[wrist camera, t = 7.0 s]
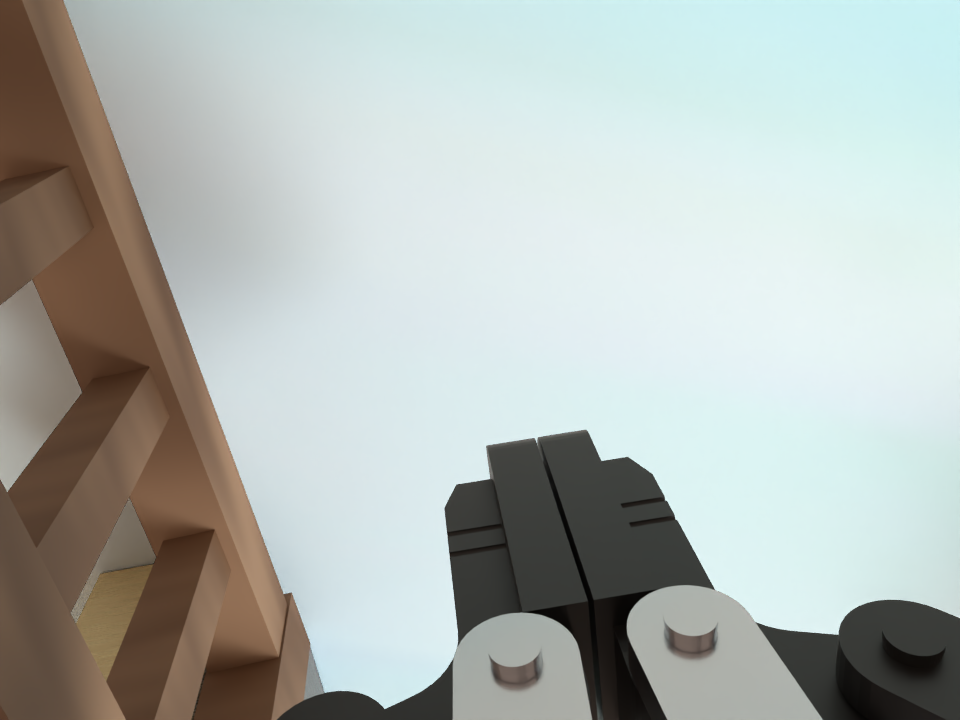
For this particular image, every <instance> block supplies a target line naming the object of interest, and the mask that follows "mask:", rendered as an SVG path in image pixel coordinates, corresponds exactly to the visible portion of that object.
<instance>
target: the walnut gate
mask: <svg viewBox="0 0 960 720" xmlns="http://www.w3.org/2000/svg"><path fill="white" fill-rule="evenodd" d="M30 280H33V282H34V284H35V287H36V289H37V291H38V293H39V296H40V298H41V300H42V302H43V305H44V307H45V309H46V311H47V314H48V316H49V318H50V320H51V323H52V325H53V327H54V329H55V332H56V334H57V336H58V338H59V340H60V343H61V345H62V347H63V349H64V352H65V354H66V356H67V358H68V361H69V363H70V365H71V367H72V370H73V372H74V374H75V376H76V379H77V381H78V383H79V385H80V387H81V390H82V394H81V395H80V396H79V398H78V399H77V400H76V402H75V403H74V404H73V406H72V407H71V408H70V410H69V411H68V412H67V414H66V415H65V416H64V418H63V419H62V420H61V422H60V423H59V424H58V426H57V427H56V428H55V430H54V431H53V432H52V434H51V435H50V436H49V438H48V439H47V440H46V442H45V443H44V444H43V446H42V447H41V448H40V449H39V451H38V452H37V453H36V455H35V456H34V457H33V459H32V460H31V461H30V463H29V464H28V465H27V467H26V468H25V469H24V471H23V472H22V473H21V475H20V476H19V477H18V479H17V480H16V481H15V483H14V484H13V485H12V487H11V488H10V489H9V491H8V492H7V491H6V489H5V487H4V485H3V484H2V482H1V480H0V720H191V719H192V715H193V712H194V708H195V704H196V700H197V697H198V693H199V689H200V685H201V682H202V678H203V674H204V670H205V667H206V674H205V678H204V682H203V686H202V689H201V693H200V697H199V701H198V704H197V708H196V712H195V716H194V720H277V719H278V718H279V717H280V716H281V715H282V714H283V713H284V712H286V711H287V710H289V709H290V708H291V707H293V706H294V705H296V704H298V703H300V702H302V701H303V700H304V694H305V685H306V677H307V668H308V660H309V651H310V642H309V639H308V636H307V633H306V631H305V628H304V625H303V623H302V620H301V617H300V614H299V612H298V609H297V606H296V603H295V601H294V598H293V595H292V593H287V594H283V591H282V589H281V586H280V583H279V581H278V578H277V575H276V573H275V570H274V567H273V565H272V562H271V559H270V556H269V554H268V551H267V548H266V546H265V543H264V540H263V538H262V535H261V532H260V529H259V527H258V524H257V521H256V519H255V516H254V513H253V511H252V508H251V505H250V503H249V500H248V497H247V494H246V492H245V489H244V486H243V484H242V481H241V478H240V476H239V473H238V470H237V468H236V465H235V462H234V459H233V457H232V454H231V451H230V449H229V446H228V443H227V441H226V438H225V435H224V432H223V430H222V427H221V424H220V422H219V419H218V416H217V414H216V411H215V408H214V406H213V403H212V400H211V397H210V395H209V392H208V389H207V387H206V384H205V381H204V379H203V376H202V373H201V371H200V368H199V365H198V362H197V360H196V357H195V354H194V352H193V349H192V346H191V344H190V341H189V338H188V335H187V333H186V330H185V327H184V325H183V322H182V319H181V317H180V314H179V311H178V309H177V306H176V303H175V300H174V298H173V295H172V292H171V290H170V287H169V284H168V282H167V279H166V276H165V274H164V271H163V268H162V265H161V263H160V260H159V257H158V255H157V252H156V249H155V247H154V244H153V241H152V238H151V236H150V233H149V230H148V228H147V225H146V222H145V220H144V217H143V214H142V212H141V209H140V206H139V203H138V201H137V198H136V195H135V193H134V190H133V187H132V185H131V182H130V179H129V176H128V174H127V171H126V168H125V166H124V163H123V160H122V158H121V155H120V152H119V150H118V147H117V144H116V141H115V139H114V136H113V133H112V131H111V128H110V125H109V123H108V120H107V117H106V115H105V112H104V109H103V106H102V104H101V101H100V98H99V96H98V93H97V90H96V88H95V85H94V82H93V79H92V77H91V74H90V71H89V69H88V66H87V63H86V61H85V58H84V55H83V53H82V50H81V47H80V44H79V42H78V39H77V36H76V34H75V31H74V28H73V26H72V23H71V20H70V18H69V15H68V12H67V9H66V7H65V4H64V1H63V0H0V305H1V304H2V303H4V302H5V301H6V300H7V299H8V298H10V297H11V296H12V295H13V294H14V293H16V292H17V291H18V290H19V289H21V288H22V287H23V286H24V285H25V284H27V283H28V282H29V281H30ZM129 497H130V499H131V502H132V504H133V506H134V508H135V511H136V513H137V515H138V517H139V520H140V522H141V524H142V526H143V529H144V531H145V533H146V535H147V538H148V540H149V542H150V544H151V547H152V549H153V551H154V553H155V555H156V559H155V562H154V564H153V567H152V569H151V572H150V574H149V577H148V579H147V582H146V584H145V587H144V589H143V592H142V594H141V597H140V599H139V601H138V604H137V606H136V609H135V611H134V614H133V616H132V619H131V621H130V624H129V626H128V629H127V631H126V634H125V636H124V639H123V641H122V643H121V646H120V648H119V651H118V653H117V656H116V658H115V661H114V663H113V666H112V668H111V671H110V673H109V676H108V678H107V681H106V680H105V679H104V677H103V675H102V673H101V671H100V669H99V667H98V665H97V663H96V661H95V659H94V658H93V656H92V654H91V652H90V650H89V648H88V646H87V644H86V642H85V640H84V638H83V637H82V635H81V633H80V631H79V629H78V627H77V625H76V623H75V621H74V619H73V617H72V615H71V614H70V613H71V611H72V609H73V607H74V605H75V603H76V601H77V599H78V597H79V595H80V593H81V591H82V589H83V587H84V585H85V583H86V581H87V579H88V577H89V575H90V573H91V572H92V570H93V568H94V566H95V564H96V562H97V560H98V558H99V556H100V554H101V552H102V550H103V548H104V546H105V544H106V542H107V540H108V538H109V536H110V534H111V532H112V530H113V528H114V526H115V524H116V522H117V520H118V518H119V516H120V514H121V512H122V510H123V508H124V506H125V504H126V502H127V500H128V498H129Z"/></svg>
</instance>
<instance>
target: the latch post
mask: <svg viewBox="0 0 960 720" xmlns="http://www.w3.org/2000/svg"><path fill="white" fill-rule="evenodd" d="M152 567H153V564H151V565H146V566H140V567H135V568H129V569H124V570H118V571H113V572H107V573H102V574H100V576H99V578H98V580H97V582H96V584H95V586H94V588H93V590H92V592H91V594H90V596H89V598H88V600H87V602H86V604H85V606H84V608H83V610H82V613H81V615H80V617H79V619H78V621H77V623H76V625H77V627H78V629H79V631H80V633H81V635H82V637H83V638H84V640H85V642H86V644H87V646H88V648H89V650H90V652H91V654H92V656H93V658H94V659H95V661H96V663H97V665H98V667H99V669H100V671H101V673H102V675H103V677H104V679H105V680H106V681H107V678H108V676H109V673H110V671H111V668H112V666H113V663H114V661H115V658H116V656H117V653H118V651H119V648H120V646H121V643H122V641H123V639H124V636H125V634H126V631H127V629H128V626H129V624H130V621H131V619H132V616H133V614H134V611H135V609H136V606H137V604H138V601H139V599H140V597H141V594H142V592H143V589H144V587H145V584H146V582H147V579H148V577H149V574H150V572H151V569H152ZM205 674H206V667H205V670H204V674H203V678H202V682H201V685H200V689H199V693H198V697H197V700H196V704H195V708H194V712H193V715H192V719H191V720H194V716H195V712H196V708H197V704H198V701H199V697H200V693H201V689H202V686H203V682H204V678H205ZM323 693H324V690H323V687H322V683H321V680H320V677H319V674H318V670H317V667H316V664H315V661H314V658H313V654H312V651H311V648H310V651H309V660H308V668H307V677H306V685H305V694H304V700H306V699H308V698H311V697H313V696H316V695H319V694H323Z"/></svg>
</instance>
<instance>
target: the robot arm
mask: <svg viewBox="0 0 960 720" xmlns="http://www.w3.org/2000/svg"><path fill="white" fill-rule="evenodd" d="M537 445H538V446H537ZM486 448H487V457H488V465H489V472H490V479H489V480H483V481H477V482H470V483H464V484H458V485H456V487H455V489H454V491H453V492H452V494H451V496H450V498H449V500H448V502H447V504H446V506H445V517H446V526H447V534H448V544H449V553H450V563H451V572H452V581H453V590H454V599H455V609H456V618H457V627H458V646H457V649H456V652H455V655H454V658H453V660H452V662H451V663H450V665H449V667H448V668H447V669H446V671H445V672H444V673H443V674H442V675H441V677H440V678H438V679H437V680H436V681H435V682H434V683H433V684H432V685H430V686H429V687H427V688H426V689H425V690H423V691H422V692H420V693H418V694H416V695H414V696H412V697H410V698H408V699H406V700H404V701H402V702H400V703H397V704H395V705H393V706H391V707H389V708H387V709H384V708H383V707H382V706H381V705H380V704H379V703H378V702H377V701H375V700H374V699H372V698H370V697H369V696H366V695H363V694H360V693H356V692H350V691H335V692H327V693H323V694H319V695H316V696H313V697H311V698H308V699H306V700H303V701H302V702H300V703H298V704H296V705H294V706H293V707H291V708H290V709H289V710H287V711H286V712H284V713H283V714H282V715H281V716H280V717H279V718H278V719H277V720H960V618H958V617H955V616H953V615H950V614H948V613H946V612H943V611H941V610H938V609H935V608H933V607H930V606H927V605H923V604H919V603H915V602H910V601H903V600H881V601H874V602H870V603H866V604H864V605H861V606H858V607H857V608H855V609H854V610H852V611H851V612H850V613H848V614H847V615H846V616H845V618H844V619H843V621H842V623H841V625H840V629H839V635H833V634H821V633H809V632H797V631H788V630H780V629H776V628H772V627H768V626H765V625H762V624H759V623H756V622H755V621H754V620H753V618H752V617H751V615H750V614H749V613H748V612H747V610H746V609H745V608H744V607H743V606H742V605H741V604H739V603H738V602H737V601H736V600H734V599H732V598H731V597H729V596H728V595H725V594H723V593H721V592H719V591H716V590H715V589H714V587H713V585H712V584H711V582H710V580H709V578H708V576H707V574H706V573H705V571H704V569H703V567H702V565H701V563H700V561H699V560H698V558H697V556H696V554H695V552H694V550H693V548H692V547H691V545H690V543H689V541H688V539H687V537H686V536H685V534H684V532H683V530H682V528H681V526H680V524H679V523H678V521H677V520H675V515H674V513H673V511H672V510H671V508H670V506H669V504H668V502H667V501H665V497H664V495H663V493H662V491H661V489H660V487H659V486H658V484H657V482H656V480H655V478H654V476H653V474H651V473H650V472H649V471H647V470H646V469H644V468H643V467H641V466H640V465H639V464H637V463H636V462H634V461H633V460H631V459H630V458H629V457H625V458H618V459H612V460H606V461H601V459H600V457H599V455H598V453H597V451H596V448H595V446H594V444H593V442H592V439H591V437H590V435H589V433H588V431H587V430H581V431H575V432H568V433H562V434H556V435H549V436H543V437H538V440H537V443H536V440H535V438H532V439H525V440H519V441H513V442H507V443H500V444H494V445H488V446H486Z"/></svg>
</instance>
